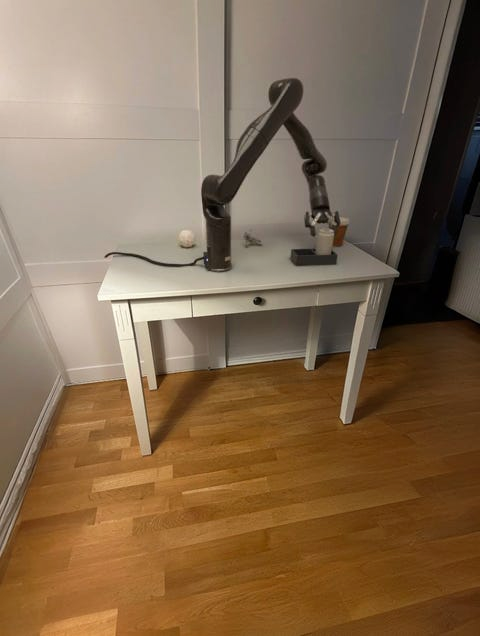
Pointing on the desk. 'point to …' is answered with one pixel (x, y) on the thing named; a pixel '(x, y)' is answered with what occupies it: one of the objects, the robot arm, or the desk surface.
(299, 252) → the divided tray
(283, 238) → the desk surface
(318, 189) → the robot arm
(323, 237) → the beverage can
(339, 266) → the desk surface
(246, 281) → the desk surface
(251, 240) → the elephant figurine
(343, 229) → the disposable coffee cup
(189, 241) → the geometric ball
